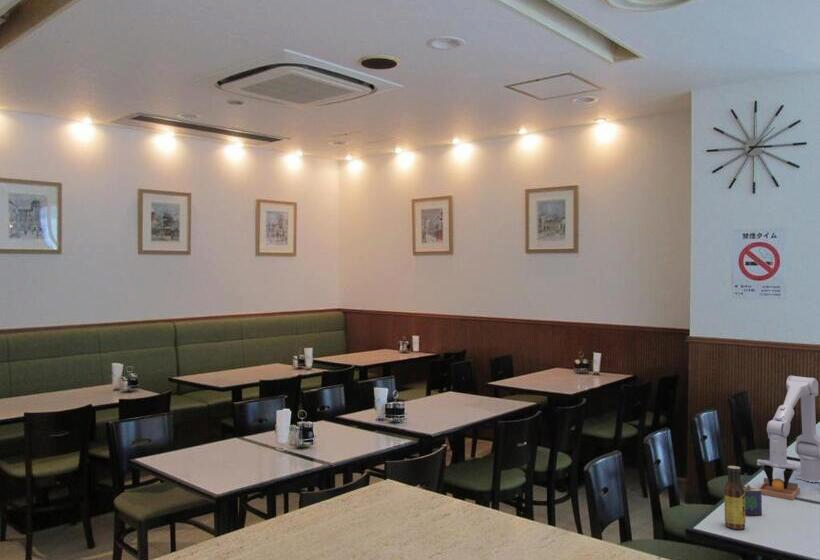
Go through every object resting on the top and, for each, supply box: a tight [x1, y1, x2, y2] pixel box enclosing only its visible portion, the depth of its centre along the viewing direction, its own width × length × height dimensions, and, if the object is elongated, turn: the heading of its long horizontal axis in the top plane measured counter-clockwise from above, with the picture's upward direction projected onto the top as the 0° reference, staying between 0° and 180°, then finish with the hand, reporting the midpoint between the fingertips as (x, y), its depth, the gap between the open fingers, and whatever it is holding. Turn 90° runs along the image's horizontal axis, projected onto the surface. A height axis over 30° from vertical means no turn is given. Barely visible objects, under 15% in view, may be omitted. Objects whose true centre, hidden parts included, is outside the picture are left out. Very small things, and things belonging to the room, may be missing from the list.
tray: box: [756, 481, 801, 501], centre depth 257 cm, size 12×12×2 cm
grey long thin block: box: [763, 477, 799, 488], centre depth 263 cm, size 1×12×3 cm, turn 49°
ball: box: [772, 478, 784, 491], centre depth 257 cm, size 5×5×5 cm
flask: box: [743, 483, 763, 517], centre depth 234 cm, size 9×3×11 cm, turn 88°
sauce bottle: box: [723, 465, 746, 530], centre depth 223 cm, size 6×6×20 cm
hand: (778, 486), depth 257 cm, fingers closed on ball, 4 cm apart
